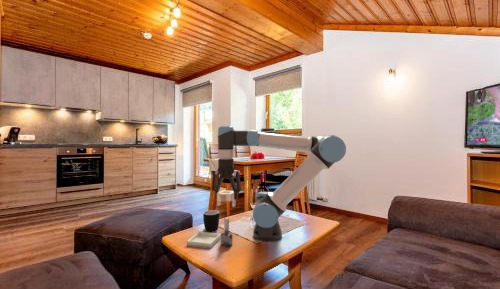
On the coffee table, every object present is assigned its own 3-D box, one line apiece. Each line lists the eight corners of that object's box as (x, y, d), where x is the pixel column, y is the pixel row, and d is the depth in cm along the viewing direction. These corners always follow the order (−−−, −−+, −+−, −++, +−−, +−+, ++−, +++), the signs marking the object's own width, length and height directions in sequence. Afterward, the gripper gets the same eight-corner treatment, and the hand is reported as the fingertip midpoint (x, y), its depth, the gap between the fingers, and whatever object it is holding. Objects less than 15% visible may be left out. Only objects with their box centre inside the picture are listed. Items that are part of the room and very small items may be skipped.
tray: (221, 238, 128) (221, 233, 128) (210, 248, 116) (210, 243, 116) (199, 235, 131) (198, 231, 131) (186, 245, 119) (186, 241, 119)
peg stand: (234, 242, 122) (233, 216, 122) (230, 247, 117) (229, 220, 116) (223, 241, 123) (223, 215, 123) (219, 246, 118) (218, 219, 118)
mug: (221, 231, 137) (221, 213, 136) (205, 234, 133) (204, 215, 133) (216, 224, 148) (216, 208, 148) (201, 226, 145) (201, 209, 144)
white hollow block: (222, 197, 124) (222, 190, 124) (235, 197, 122) (235, 191, 122) (215, 201, 116) (215, 194, 115) (229, 202, 114) (229, 194, 114)
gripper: (247, 158, 120) (248, 204, 121) (210, 157, 125) (210, 202, 126) (243, 159, 113) (243, 209, 113) (203, 158, 118) (204, 206, 119)
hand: (226, 205), depth 120 cm, fingers closed on white hollow block, 7 cm apart
